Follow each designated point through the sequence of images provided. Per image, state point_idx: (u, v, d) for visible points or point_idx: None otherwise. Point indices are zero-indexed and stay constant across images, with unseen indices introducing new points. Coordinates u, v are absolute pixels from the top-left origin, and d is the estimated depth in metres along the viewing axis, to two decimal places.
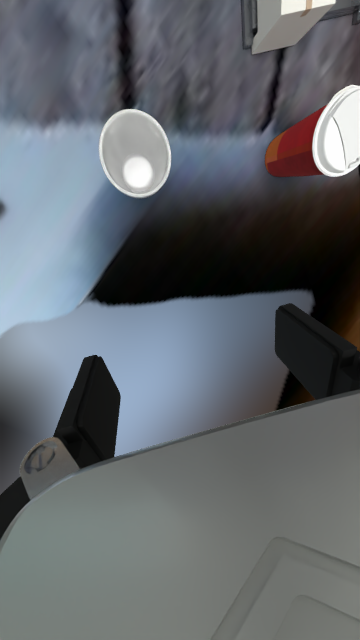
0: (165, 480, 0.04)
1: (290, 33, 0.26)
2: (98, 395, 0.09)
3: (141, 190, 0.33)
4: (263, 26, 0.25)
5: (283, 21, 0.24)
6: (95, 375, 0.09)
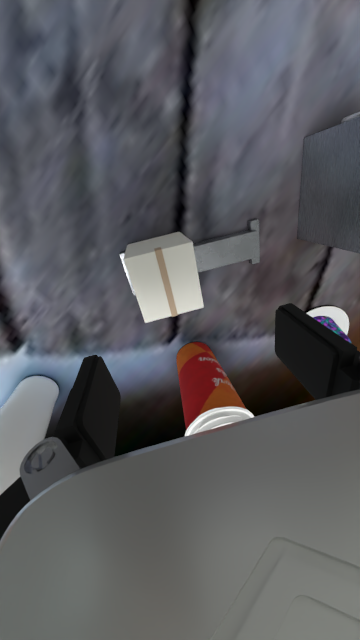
0: (165, 480, 0.04)
1: None
2: (98, 395, 0.09)
3: None
4: None
5: None
6: (95, 375, 0.09)
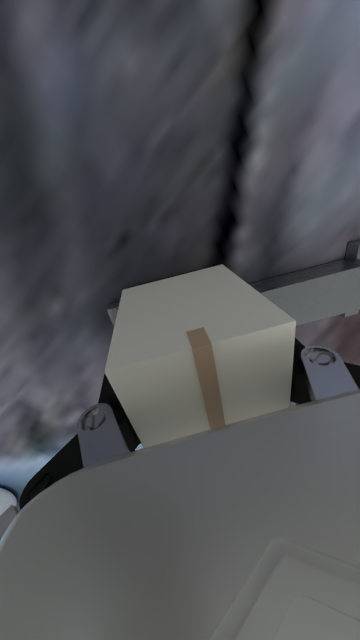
0: (165, 480, 0.04)
1: None
2: None
3: None
4: None
5: None
6: None
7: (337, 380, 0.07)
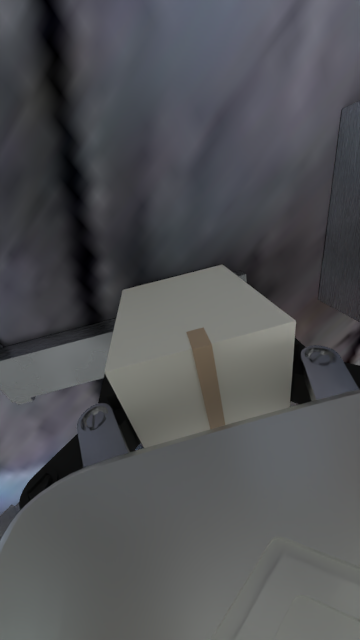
0: (165, 480, 0.04)
1: None
2: None
3: None
4: None
5: None
6: None
7: (337, 380, 0.07)
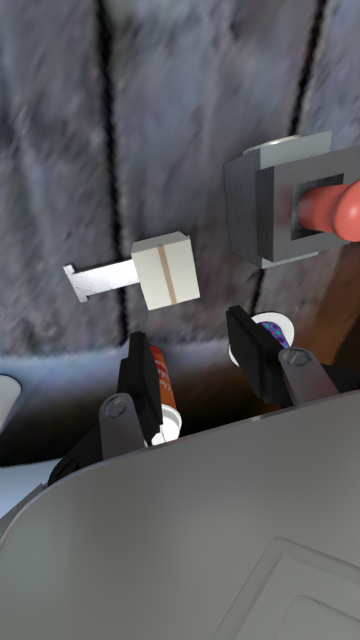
0: (165, 480, 0.04)
1: None
2: (148, 364, 0.10)
3: None
4: None
5: None
6: (144, 346, 0.10)
7: (310, 381, 0.07)
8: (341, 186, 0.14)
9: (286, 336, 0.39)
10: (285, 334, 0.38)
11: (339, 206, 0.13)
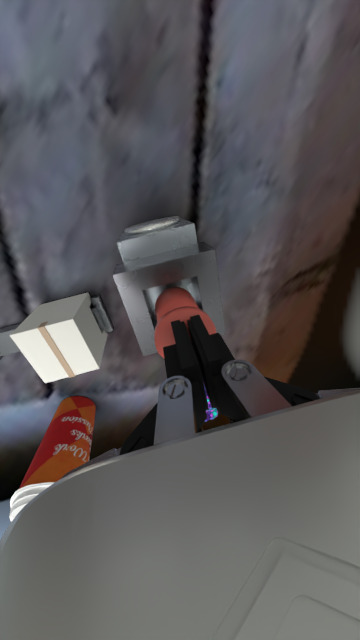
0: (165, 480, 0.04)
1: None
2: None
3: None
4: None
5: None
6: (188, 334, 0.10)
7: (243, 396, 0.07)
8: (170, 305, 0.13)
9: None
10: None
11: (154, 336, 0.12)
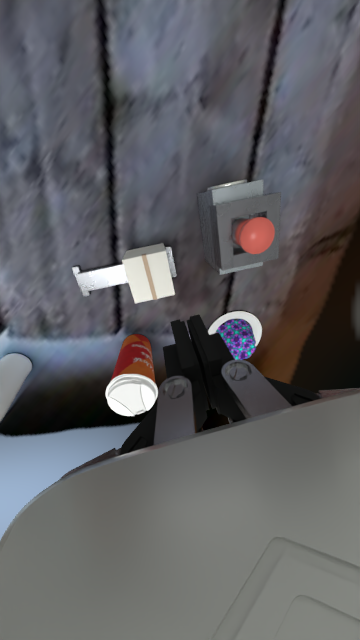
0: (165, 480, 0.04)
1: None
2: None
3: None
4: None
5: None
6: (188, 334, 0.10)
7: (243, 396, 0.07)
8: (247, 220, 0.23)
9: (255, 330, 0.45)
10: (254, 328, 0.45)
11: (241, 233, 0.22)
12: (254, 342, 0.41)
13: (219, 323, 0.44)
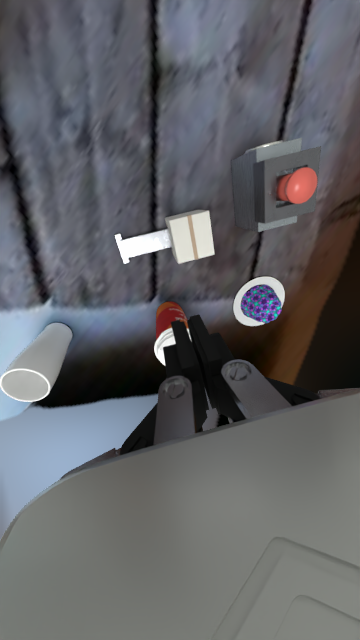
0: (165, 480, 0.04)
1: None
2: None
3: None
4: (174, 252, 0.37)
5: None
6: (188, 334, 0.10)
7: (243, 396, 0.07)
8: (291, 173, 0.26)
9: (278, 295, 0.48)
10: (277, 293, 0.48)
11: (288, 183, 0.25)
12: (280, 303, 0.44)
13: (245, 290, 0.47)
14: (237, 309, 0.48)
